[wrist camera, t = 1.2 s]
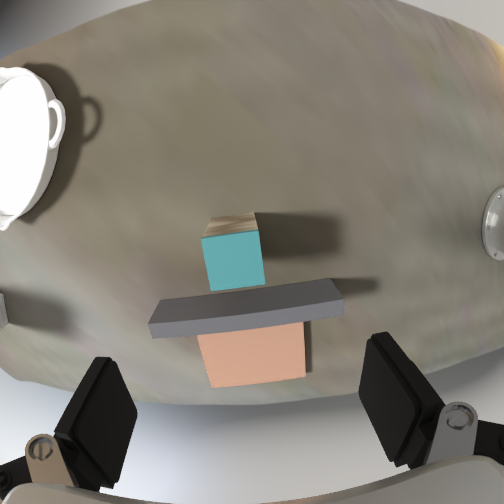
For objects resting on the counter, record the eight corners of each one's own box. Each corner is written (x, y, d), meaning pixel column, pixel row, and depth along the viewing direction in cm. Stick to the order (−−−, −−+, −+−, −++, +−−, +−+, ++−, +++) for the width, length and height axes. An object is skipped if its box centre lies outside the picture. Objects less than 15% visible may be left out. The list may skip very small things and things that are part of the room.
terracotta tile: (301, 316, 38) (303, 320, 37) (304, 372, 41) (305, 376, 40) (197, 330, 38) (196, 333, 37) (212, 383, 41) (211, 387, 40)
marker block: (254, 212, 34) (258, 230, 25) (259, 253, 35) (265, 284, 27) (211, 218, 34) (201, 238, 25) (217, 259, 35) (211, 291, 27)
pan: (-32, 99, 25) (-47, 98, 22) (83, 39, 26) (69, 30, 22) (-26, 233, 33) (-40, 239, 29) (88, 213, 33) (72, 220, 29)
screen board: (329, 278, 37) (344, 298, 31) (330, 292, 37) (344, 314, 32) (160, 300, 37) (147, 323, 31) (163, 313, 37) (152, 338, 32)
